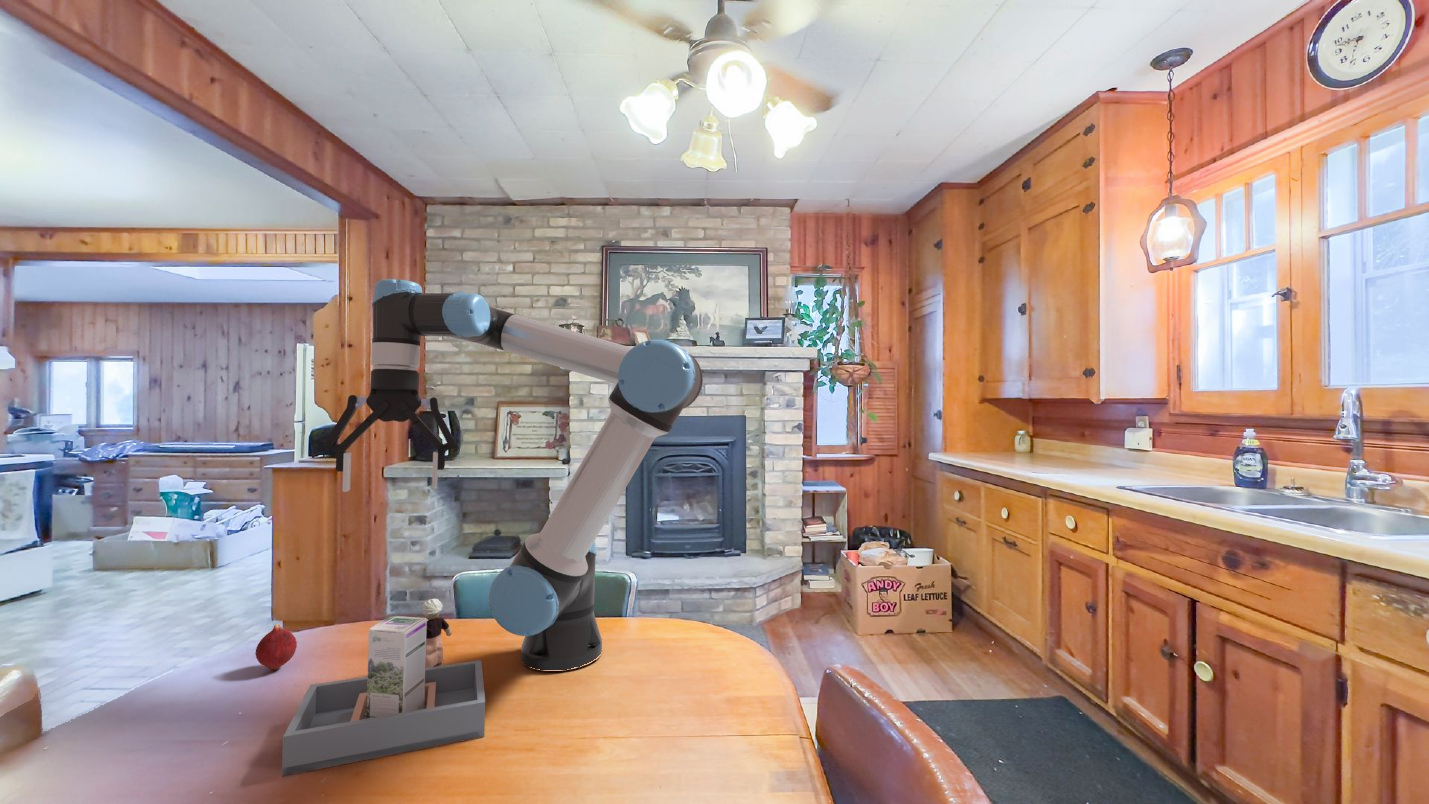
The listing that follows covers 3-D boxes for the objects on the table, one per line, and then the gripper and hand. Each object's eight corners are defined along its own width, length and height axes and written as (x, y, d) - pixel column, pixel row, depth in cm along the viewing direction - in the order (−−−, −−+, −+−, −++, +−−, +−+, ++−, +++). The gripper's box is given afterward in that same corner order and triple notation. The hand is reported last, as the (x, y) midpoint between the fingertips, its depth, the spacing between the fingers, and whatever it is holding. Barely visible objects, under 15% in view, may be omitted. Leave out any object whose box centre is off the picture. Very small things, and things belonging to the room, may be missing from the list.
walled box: (480, 689, 97) (481, 660, 97) (484, 736, 83) (485, 701, 83) (309, 718, 87) (310, 684, 87) (281, 776, 73) (283, 736, 73)
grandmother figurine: (436, 660, 108) (438, 592, 108) (454, 662, 107) (456, 594, 107) (404, 678, 100) (406, 605, 101) (422, 681, 99) (424, 607, 99)
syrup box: (425, 711, 88) (428, 615, 88) (401, 732, 82) (404, 630, 82) (390, 708, 88) (393, 613, 88) (363, 729, 82) (367, 627, 83)
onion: (303, 665, 104) (305, 621, 104) (269, 679, 99) (271, 632, 99) (281, 660, 106) (283, 616, 106) (247, 673, 101) (248, 627, 101)
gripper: (471, 373, 110) (468, 484, 110) (315, 366, 100) (311, 488, 99) (472, 371, 103) (469, 489, 103) (305, 363, 93) (300, 495, 93)
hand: (391, 489), depth 101 cm, fingers open, 13 cm apart
